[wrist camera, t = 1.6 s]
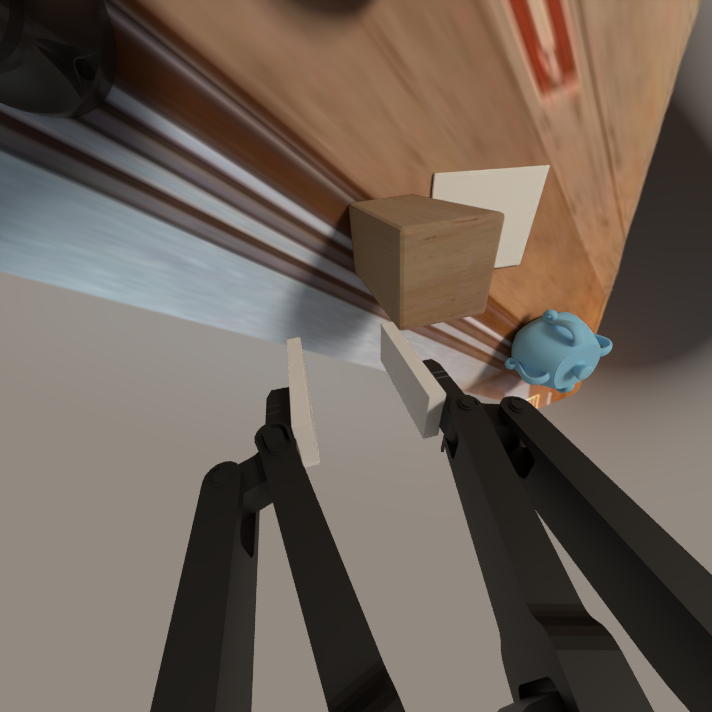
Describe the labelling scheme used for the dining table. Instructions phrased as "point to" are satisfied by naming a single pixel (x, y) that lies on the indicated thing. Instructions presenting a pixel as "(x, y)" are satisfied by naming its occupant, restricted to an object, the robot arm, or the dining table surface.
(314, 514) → the robot arm
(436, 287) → the wooden block
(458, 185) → the mat
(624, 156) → the dining table surface
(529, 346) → the decorative pot
